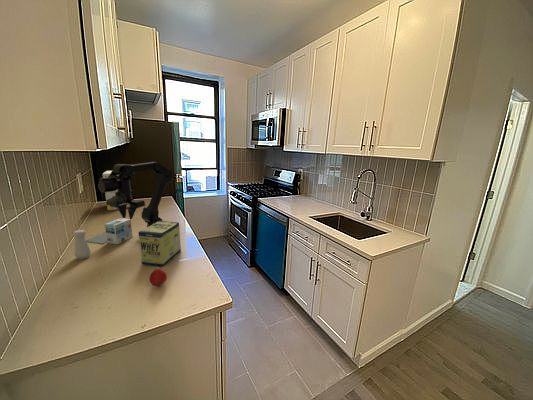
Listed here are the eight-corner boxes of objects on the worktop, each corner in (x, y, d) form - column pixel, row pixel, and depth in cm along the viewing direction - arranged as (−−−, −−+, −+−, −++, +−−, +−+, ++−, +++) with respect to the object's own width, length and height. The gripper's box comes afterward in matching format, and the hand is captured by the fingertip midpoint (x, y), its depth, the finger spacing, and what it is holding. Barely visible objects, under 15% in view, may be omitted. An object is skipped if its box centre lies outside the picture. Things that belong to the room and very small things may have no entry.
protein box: (141, 265, 98) (137, 232, 95) (162, 249, 113) (159, 220, 110) (163, 267, 97) (160, 234, 93) (181, 251, 112) (179, 221, 108)
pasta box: (123, 208, 176) (119, 173, 170) (107, 210, 172) (102, 173, 165) (126, 203, 192) (122, 170, 185) (111, 204, 188) (107, 170, 181)
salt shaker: (73, 261, 99) (68, 234, 96) (77, 255, 104) (72, 229, 101) (90, 258, 102) (85, 232, 99) (92, 253, 107) (88, 227, 103)
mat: (125, 234, 129) (125, 233, 129) (102, 244, 116) (102, 243, 116) (108, 231, 132) (108, 231, 132) (84, 241, 119) (84, 240, 119)
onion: (149, 292, 81) (147, 273, 79) (150, 283, 86) (148, 264, 84) (167, 289, 83) (165, 269, 81) (167, 280, 88) (165, 262, 86)
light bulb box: (117, 244, 116) (114, 225, 114) (106, 243, 117) (103, 223, 115) (133, 236, 126) (131, 218, 124) (123, 235, 128) (120, 217, 125)
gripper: (94, 190, 108) (98, 221, 112) (126, 194, 104) (130, 225, 108) (114, 186, 118) (118, 214, 122) (144, 189, 114) (147, 218, 118)
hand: (127, 218), depth 117 cm, fingers open, 4 cm apart
